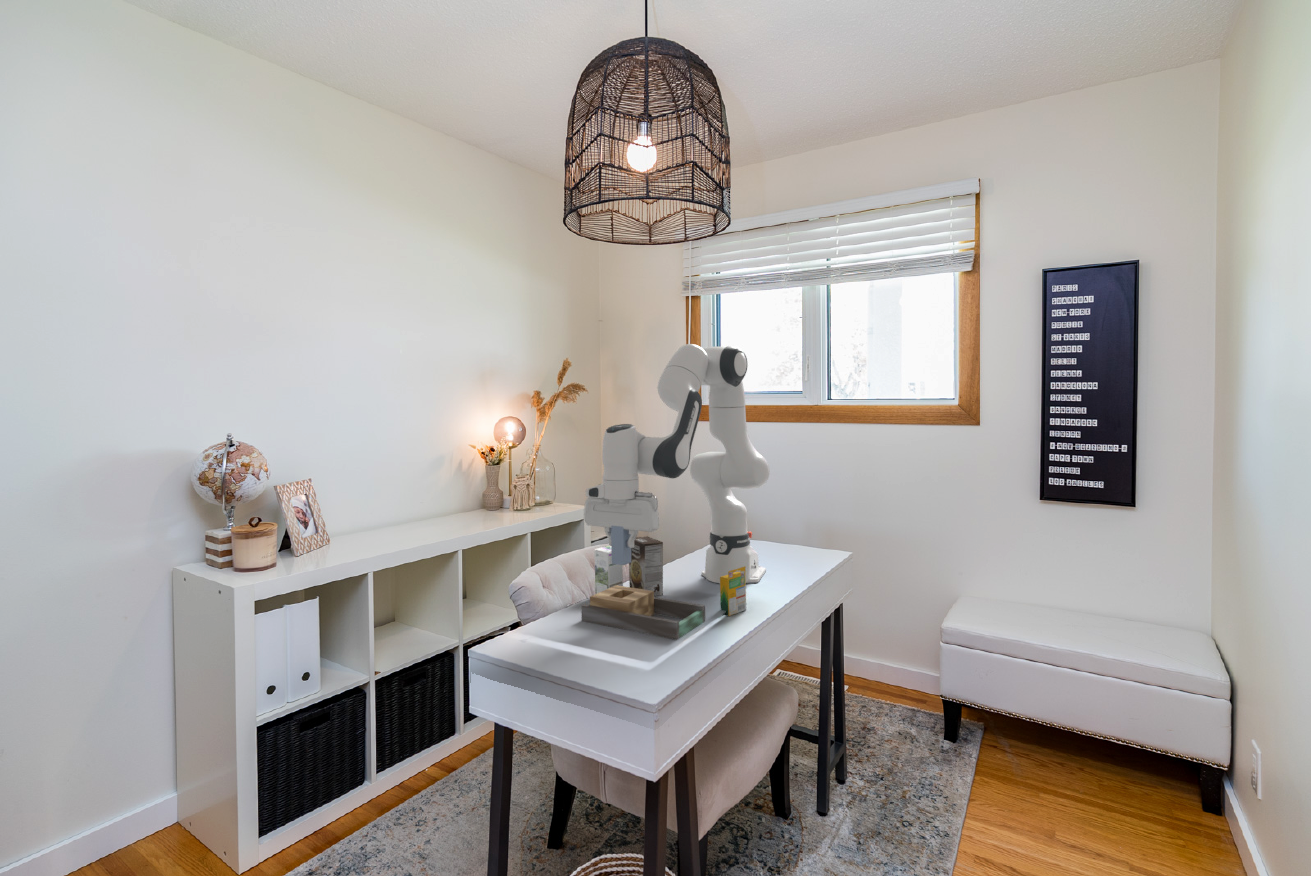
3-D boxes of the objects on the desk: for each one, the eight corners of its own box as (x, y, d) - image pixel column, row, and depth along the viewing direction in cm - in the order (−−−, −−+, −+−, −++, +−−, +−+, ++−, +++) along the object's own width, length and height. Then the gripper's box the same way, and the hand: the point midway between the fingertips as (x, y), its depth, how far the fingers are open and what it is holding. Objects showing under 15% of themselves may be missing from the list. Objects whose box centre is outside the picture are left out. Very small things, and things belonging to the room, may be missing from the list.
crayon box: (737, 607, 169) (737, 564, 168) (746, 610, 167) (746, 566, 166) (719, 614, 164) (719, 569, 163) (728, 616, 162) (728, 571, 161)
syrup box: (624, 599, 177) (623, 547, 176) (608, 604, 173) (607, 551, 172) (610, 595, 181) (609, 545, 180) (594, 600, 176) (593, 548, 176)
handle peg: (619, 560, 160) (619, 521, 160) (631, 562, 159) (630, 522, 158) (611, 563, 157) (611, 523, 157) (623, 565, 156) (623, 524, 155)
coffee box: (628, 594, 182) (627, 538, 182) (648, 590, 186) (647, 535, 185) (643, 602, 174) (643, 543, 174) (664, 598, 178) (663, 541, 177)
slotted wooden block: (616, 607, 167) (616, 585, 166) (654, 613, 161) (653, 591, 161) (590, 620, 157) (589, 596, 157) (629, 627, 151) (629, 603, 151)
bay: (614, 609, 169) (614, 590, 168) (705, 625, 155) (704, 605, 155) (581, 625, 156) (581, 605, 156) (676, 645, 143) (676, 623, 143)
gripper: (663, 491, 155) (664, 548, 155) (595, 486, 165) (595, 540, 166) (650, 494, 149) (651, 553, 150) (580, 489, 160) (581, 544, 160)
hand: (621, 546), depth 158 cm, fingers closed on handle peg, 3 cm apart
